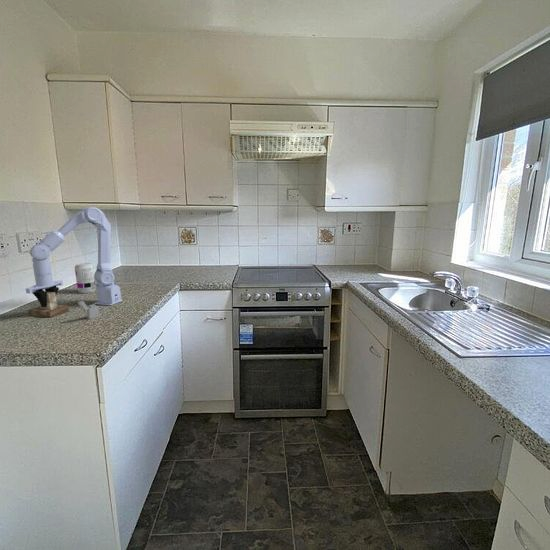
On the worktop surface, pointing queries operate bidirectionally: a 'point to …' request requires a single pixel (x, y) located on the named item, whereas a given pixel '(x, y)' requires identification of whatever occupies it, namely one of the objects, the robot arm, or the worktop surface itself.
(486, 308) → the worktop surface
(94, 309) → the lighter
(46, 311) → the holder
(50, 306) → the peg
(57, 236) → the robot arm
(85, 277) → the supplement can
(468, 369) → the worktop surface
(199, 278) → the worktop surface
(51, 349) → the worktop surface
